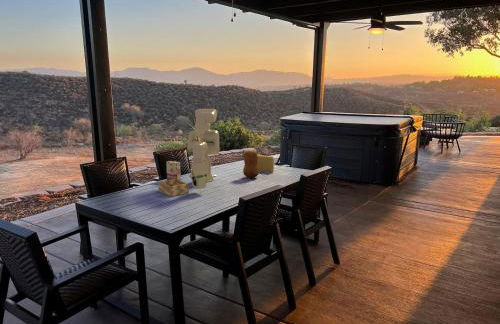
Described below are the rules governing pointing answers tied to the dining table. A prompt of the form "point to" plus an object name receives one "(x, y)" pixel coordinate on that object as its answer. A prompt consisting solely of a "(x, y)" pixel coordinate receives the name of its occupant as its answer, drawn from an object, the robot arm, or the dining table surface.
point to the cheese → (265, 163)
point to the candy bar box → (173, 170)
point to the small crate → (200, 182)
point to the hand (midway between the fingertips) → (198, 184)
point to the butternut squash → (250, 164)
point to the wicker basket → (173, 187)
